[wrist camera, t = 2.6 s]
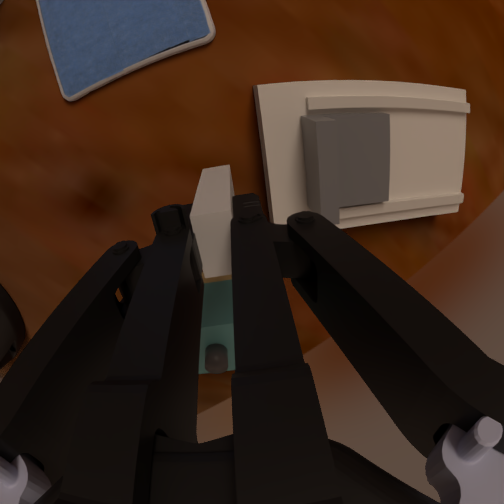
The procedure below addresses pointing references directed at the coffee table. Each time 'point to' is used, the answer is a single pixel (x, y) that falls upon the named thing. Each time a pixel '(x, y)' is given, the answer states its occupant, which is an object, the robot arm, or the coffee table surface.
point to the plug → (217, 326)
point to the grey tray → (401, 144)
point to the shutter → (346, 160)
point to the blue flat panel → (117, 37)
